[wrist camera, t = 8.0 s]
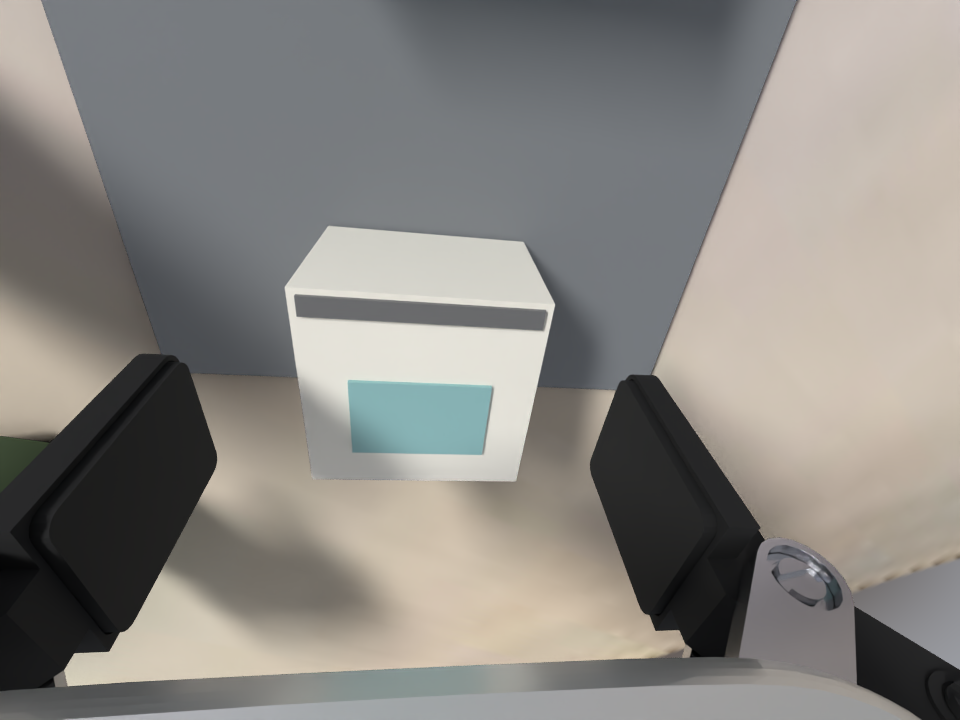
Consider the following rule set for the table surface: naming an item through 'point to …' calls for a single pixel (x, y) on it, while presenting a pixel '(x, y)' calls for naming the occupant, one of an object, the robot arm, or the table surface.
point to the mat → (415, 151)
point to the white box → (417, 354)
